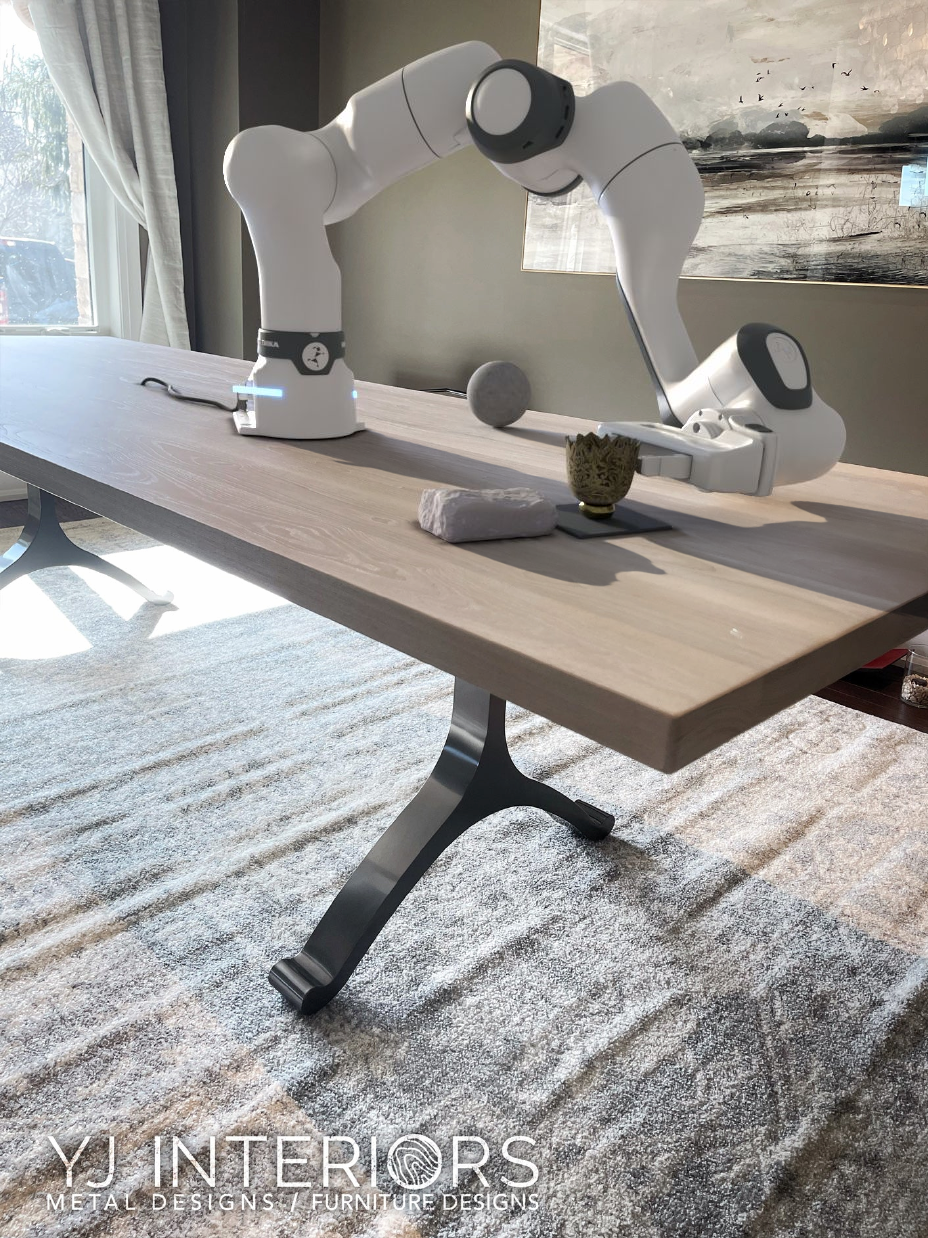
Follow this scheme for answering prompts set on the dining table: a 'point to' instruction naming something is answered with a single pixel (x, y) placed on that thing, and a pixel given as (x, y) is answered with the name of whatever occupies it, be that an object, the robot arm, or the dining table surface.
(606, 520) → the slate coaster
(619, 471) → the cup
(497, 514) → the stone block
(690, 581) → the dining table surface
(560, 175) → the robot arm
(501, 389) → the decorative ball
